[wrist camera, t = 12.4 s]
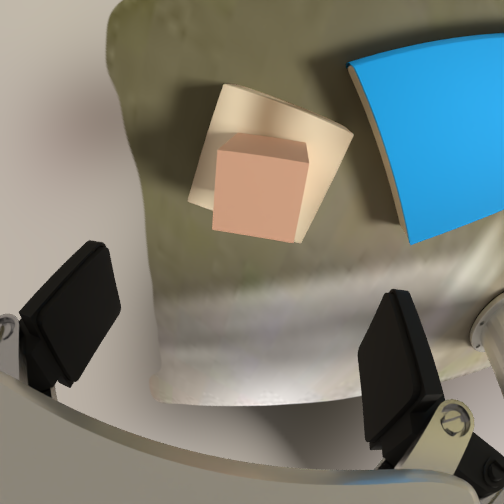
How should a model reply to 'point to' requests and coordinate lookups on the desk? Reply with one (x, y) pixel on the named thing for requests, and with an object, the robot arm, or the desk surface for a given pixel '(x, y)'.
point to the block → (260, 186)
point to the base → (278, 126)
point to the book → (438, 129)
